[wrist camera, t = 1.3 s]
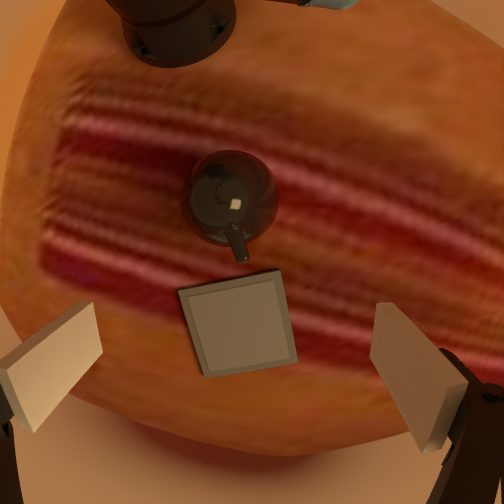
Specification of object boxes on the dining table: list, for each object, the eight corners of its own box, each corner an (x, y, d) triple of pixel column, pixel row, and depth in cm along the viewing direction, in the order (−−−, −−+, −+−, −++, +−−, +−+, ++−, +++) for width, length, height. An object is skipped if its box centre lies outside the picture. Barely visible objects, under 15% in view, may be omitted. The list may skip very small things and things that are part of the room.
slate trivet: (179, 289, 40) (177, 291, 39) (279, 269, 39) (280, 270, 38) (205, 375, 42) (204, 378, 41) (297, 360, 41) (298, 362, 41)
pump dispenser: (212, 254, 39) (182, 289, 24) (180, 175, 38) (131, 165, 23) (290, 223, 38) (308, 241, 23) (258, 143, 37) (256, 110, 22)
